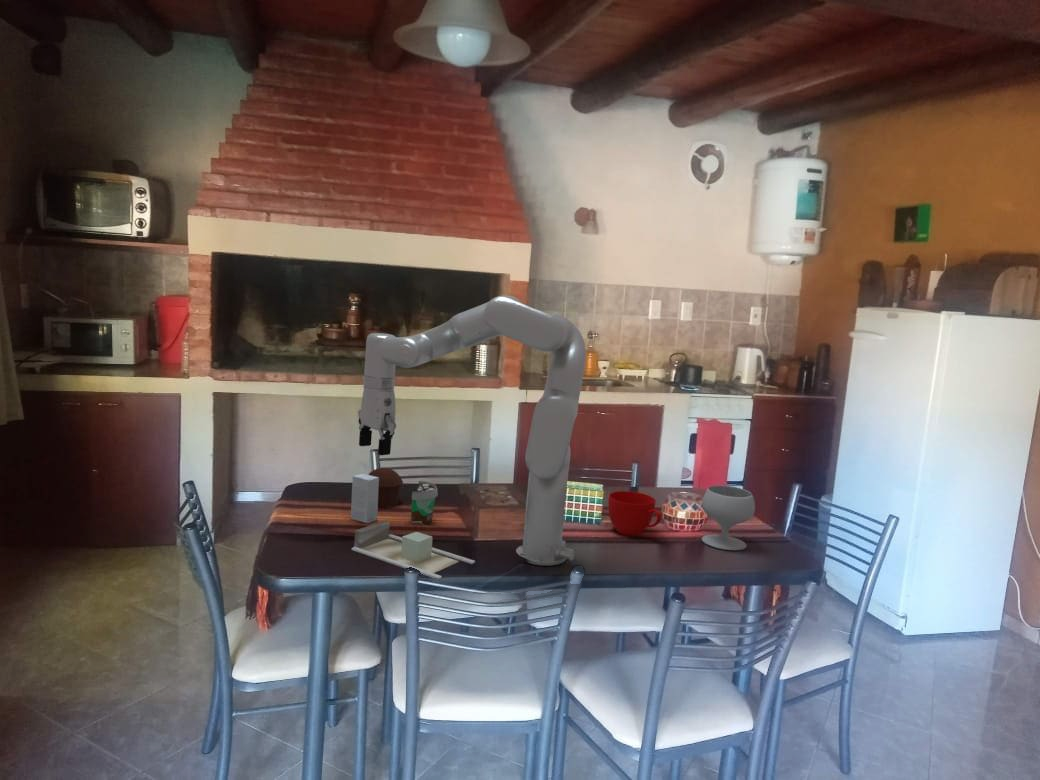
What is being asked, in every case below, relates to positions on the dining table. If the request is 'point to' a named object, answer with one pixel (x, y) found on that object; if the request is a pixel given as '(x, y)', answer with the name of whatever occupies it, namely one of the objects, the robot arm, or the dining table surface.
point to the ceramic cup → (632, 512)
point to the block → (416, 547)
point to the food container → (423, 503)
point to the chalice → (727, 514)
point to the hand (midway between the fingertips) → (374, 450)
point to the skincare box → (364, 498)
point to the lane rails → (409, 565)
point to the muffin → (387, 486)
